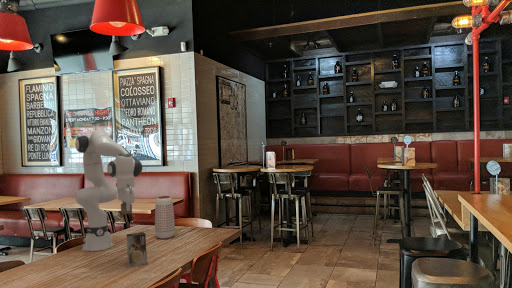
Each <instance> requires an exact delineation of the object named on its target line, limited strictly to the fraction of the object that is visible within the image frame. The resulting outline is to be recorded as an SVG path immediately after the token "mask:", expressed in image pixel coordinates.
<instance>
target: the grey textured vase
mask: <svg viewBox="0 0 512 288" xmlns="http://www.w3.org/2000/svg"><path fill="white" fill-rule="evenodd" d="M154 211H155V212H154V233H155V235H156V237H157V238H158V239H160V240H168V239H171V238H173V236H174V235H175V233H176V231H175V230H176V225H175V223H176V222H175V211H174V202H173V198H172V197H171V196H169V195H164V196H163V195H161V196H157V198H156V199H155V207H154Z"/></svg>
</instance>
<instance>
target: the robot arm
mask: <svg viewBox="0 0 512 288" xmlns="http://www.w3.org/2000/svg"><path fill="white" fill-rule="evenodd" d="M74 146H75V149H76V151H77V152H78V153H80V154H83V156H82V164H83V172H84V178H85V180H87V181H89V182H91V183H92V184H93V186H89V187H84V188H81V189H78V190H77V191H76V194H75V201H76V203H77V204H78V205H79V206H81V207H82V208H83V210H85V212H86V215H87V231H86V233H87V234H86V236H85V237H84V238H82V242H83V244H82V248H81V251H82V252H99V251H104V250H107V249H108V250H109V248H111V247H114V246H115V243H113V242H112V234H111V233H110V232H109V225H108V214H107V212H106V210H104V209H101V208H100V204H104V203H105V204H106V203H109V202H113V201H115V200H116V198H117V199H118V200H119V201H121V204H125V203H126V211H130V205H131V204H133V203H135V191H134V187H135V177H138V176H139V175H140V174H141V173H142V172H143V164H142V162H141V161H140V160H139V159H138V158H136V157H135V156H134V155H133V154H132V153H130V151H128V149H126V148H125V147H124V146H123V145H121V144H119V143H118V142H116V141H115V140H114V139H113V138H112V136H111V135H110V134H109V133H107V132H106V130H104V129H100V128H98V129H95V130H92V132H91V134H89V135H88V134H87V135H80V136H77V137H76V138H75V143H74ZM102 157H111V158H114V159H113V160H111V161H110V162H108V164H107V175H109V177H111V178H116V183H115V186H114V185H112V184H111V183H110V182H109V181H108V180H107V178H106V176H105V171H104V167H103V161H102V160H103V159H102Z"/></svg>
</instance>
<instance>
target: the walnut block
mask: <svg viewBox="0 0 512 288" xmlns="http://www.w3.org/2000/svg"><path fill="white" fill-rule="evenodd" d="M132 205H133V203H131V205H130V211H126V203H125V204H122V203H120V214H122V215H128V214H129V215H130V214H133V206H132Z"/></svg>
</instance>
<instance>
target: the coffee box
mask: <svg viewBox="0 0 512 288" xmlns="http://www.w3.org/2000/svg"><path fill="white" fill-rule="evenodd" d="M146 240H147V238H146V233H145V232H144V231H142V232H141V231H140V232H134V233H133V232H132V233H126V251H127V264H128V267H135V266H141V265H146V264H148V262H147V261H148V260H147V258H148V257H147V256H148V255H147V241H146Z"/></svg>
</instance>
